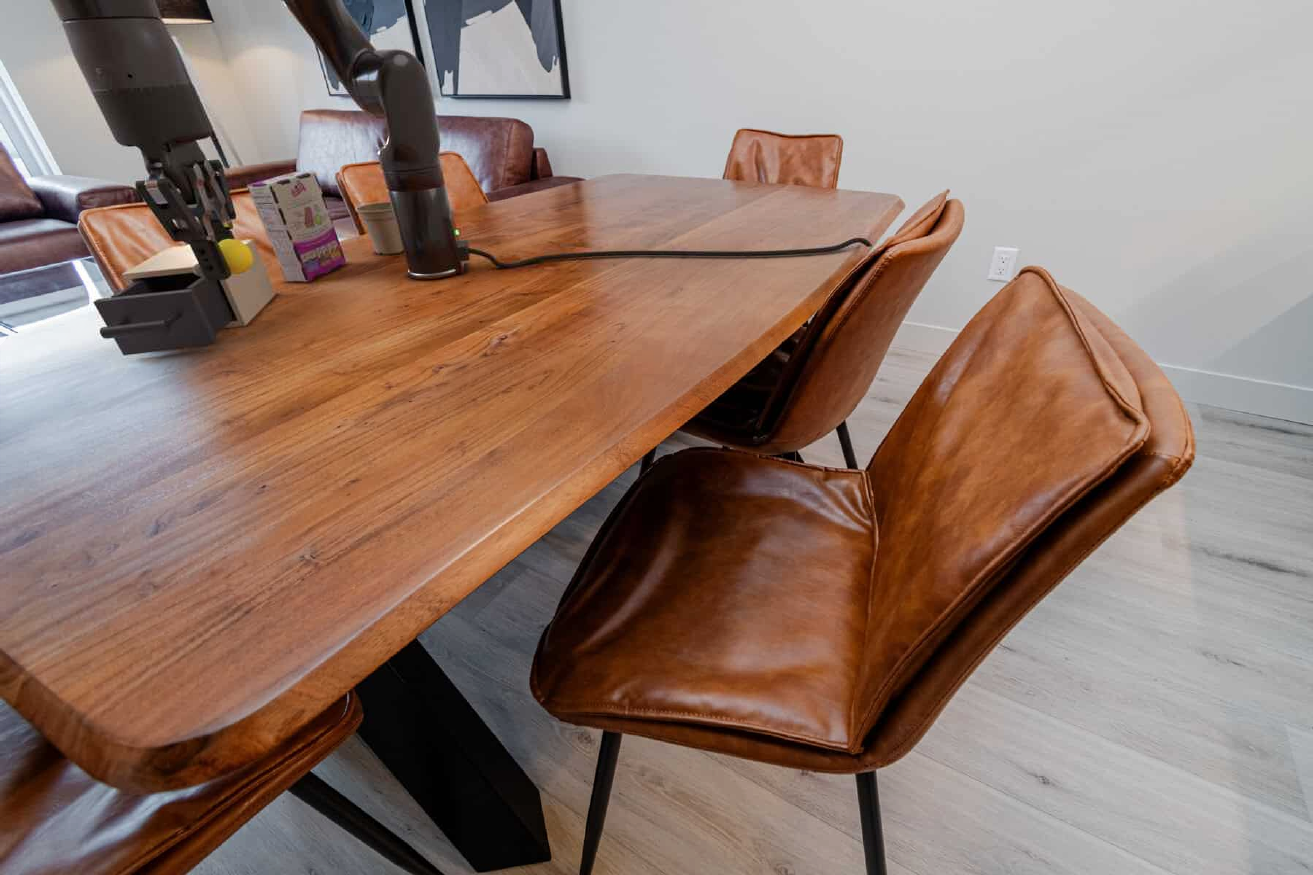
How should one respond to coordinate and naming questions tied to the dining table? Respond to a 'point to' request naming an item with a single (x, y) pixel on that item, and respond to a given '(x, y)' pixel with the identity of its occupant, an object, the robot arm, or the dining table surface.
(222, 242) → the light bulb
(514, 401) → the dining table surface
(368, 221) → the flower pot
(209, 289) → the drawer
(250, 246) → the cabinet
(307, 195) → the candy bar box
